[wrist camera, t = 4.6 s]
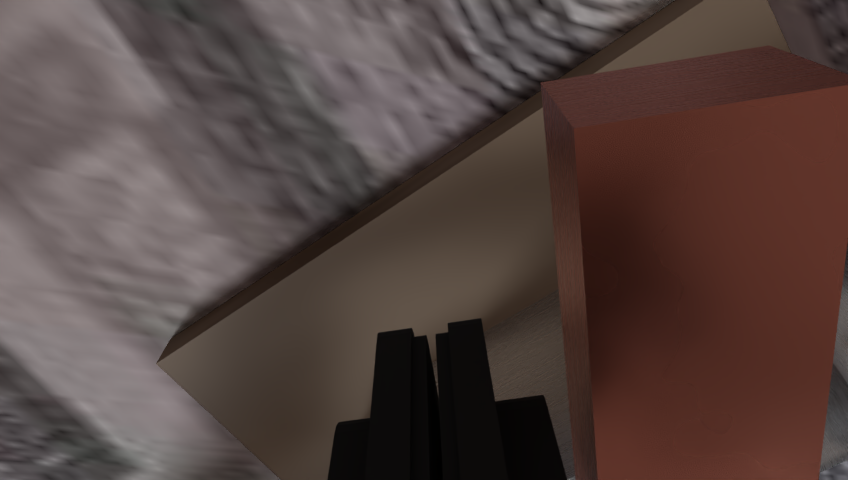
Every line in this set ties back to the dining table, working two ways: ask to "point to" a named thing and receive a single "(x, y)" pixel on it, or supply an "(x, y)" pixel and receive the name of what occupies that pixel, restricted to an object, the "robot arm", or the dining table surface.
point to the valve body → (546, 375)
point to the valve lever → (699, 262)
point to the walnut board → (412, 264)
